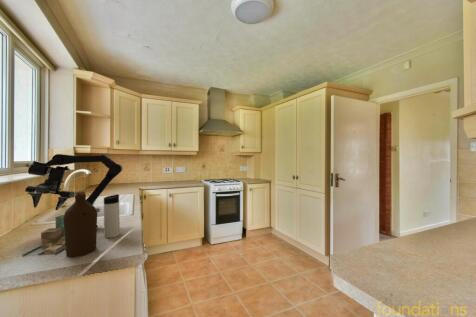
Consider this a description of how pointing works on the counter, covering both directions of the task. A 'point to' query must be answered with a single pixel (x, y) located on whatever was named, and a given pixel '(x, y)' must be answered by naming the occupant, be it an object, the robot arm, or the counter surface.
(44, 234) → the cube
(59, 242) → the tan square block
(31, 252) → the lane tray
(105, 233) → the travel mug
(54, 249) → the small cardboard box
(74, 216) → the olive oil
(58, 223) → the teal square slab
